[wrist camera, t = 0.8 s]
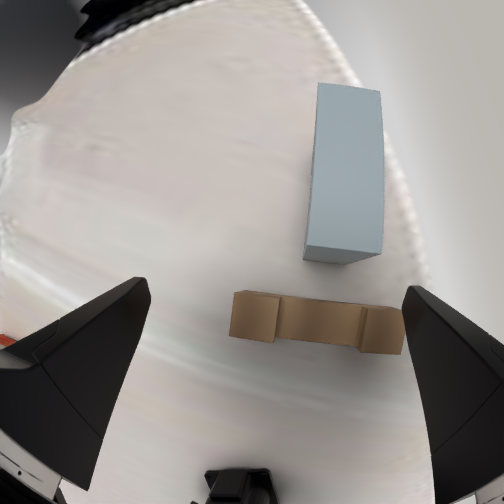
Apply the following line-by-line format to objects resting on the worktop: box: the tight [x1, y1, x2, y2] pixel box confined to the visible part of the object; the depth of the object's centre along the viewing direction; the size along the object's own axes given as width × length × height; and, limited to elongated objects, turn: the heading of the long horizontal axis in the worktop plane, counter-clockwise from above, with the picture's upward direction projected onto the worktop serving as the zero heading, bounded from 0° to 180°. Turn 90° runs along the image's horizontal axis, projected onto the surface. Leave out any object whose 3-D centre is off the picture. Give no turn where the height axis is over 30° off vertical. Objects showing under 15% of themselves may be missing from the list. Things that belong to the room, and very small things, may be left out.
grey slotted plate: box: [303, 82, 385, 264], centre depth 18 cm, size 9×4×10 cm, turn 173°
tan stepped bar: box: [229, 290, 405, 355], centre depth 20 cm, size 12×3×4 cm, turn 83°
